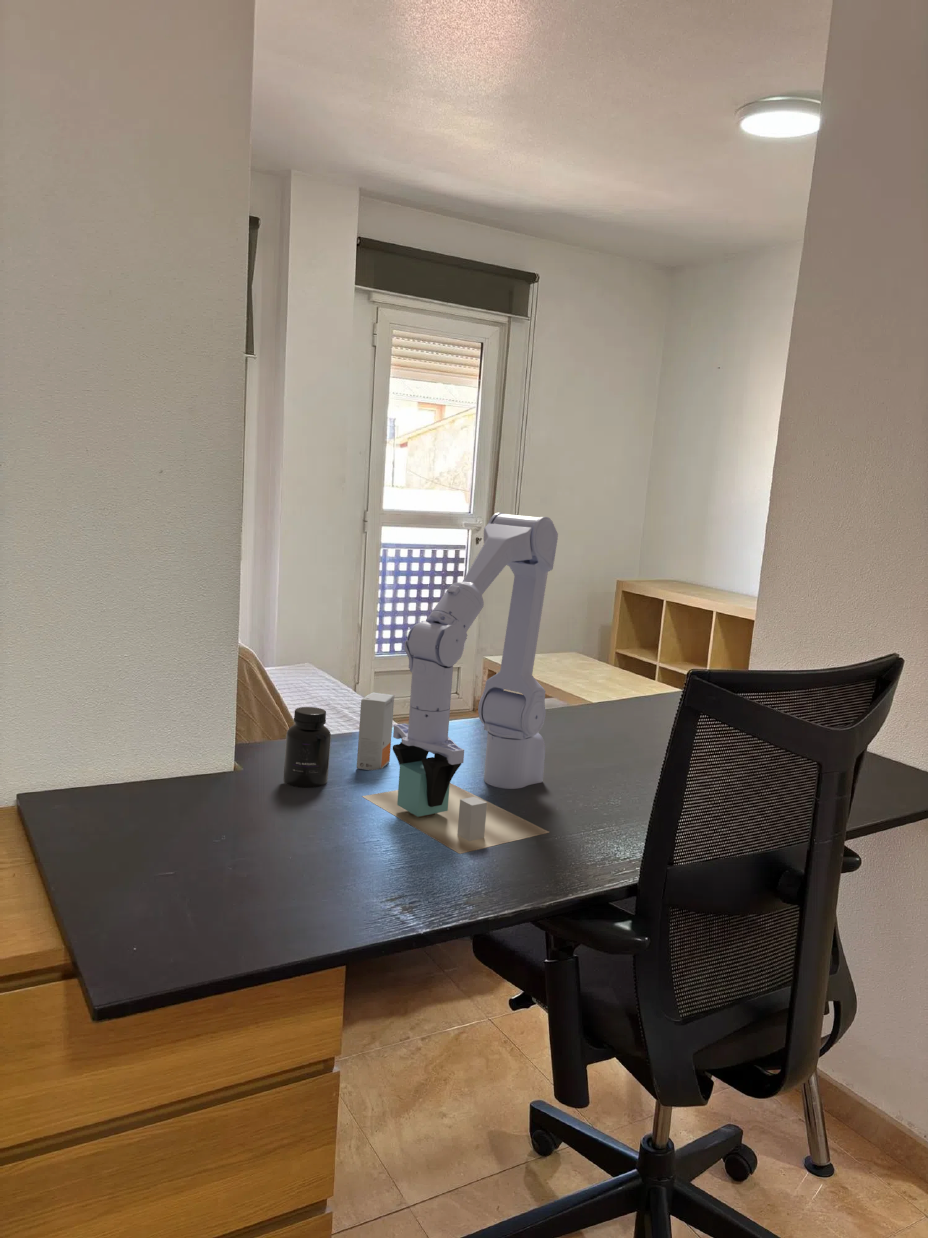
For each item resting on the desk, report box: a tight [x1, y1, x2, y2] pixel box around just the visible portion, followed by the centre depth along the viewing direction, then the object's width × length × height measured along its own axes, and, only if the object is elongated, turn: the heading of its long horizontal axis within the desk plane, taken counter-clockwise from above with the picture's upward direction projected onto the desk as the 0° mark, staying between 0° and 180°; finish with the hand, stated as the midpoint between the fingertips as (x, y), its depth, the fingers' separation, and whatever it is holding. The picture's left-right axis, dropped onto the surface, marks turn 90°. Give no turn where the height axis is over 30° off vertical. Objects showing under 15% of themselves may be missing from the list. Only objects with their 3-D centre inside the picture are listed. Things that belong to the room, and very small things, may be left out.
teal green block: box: [397, 761, 450, 817], centre depth 130 cm, size 5×5×6 cm
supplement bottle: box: [283, 706, 332, 789], centre depth 140 cm, size 7×7×12 cm
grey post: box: [457, 797, 487, 841], centre depth 123 cm, size 3×3×5 cm
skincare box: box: [356, 691, 395, 771], centre depth 153 cm, size 6×4×12 cm
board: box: [361, 782, 550, 855], centre depth 132 cm, size 16×24×1 cm, turn 38°
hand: (423, 799), depth 130 cm, fingers closed on teal green block, 5 cm apart
